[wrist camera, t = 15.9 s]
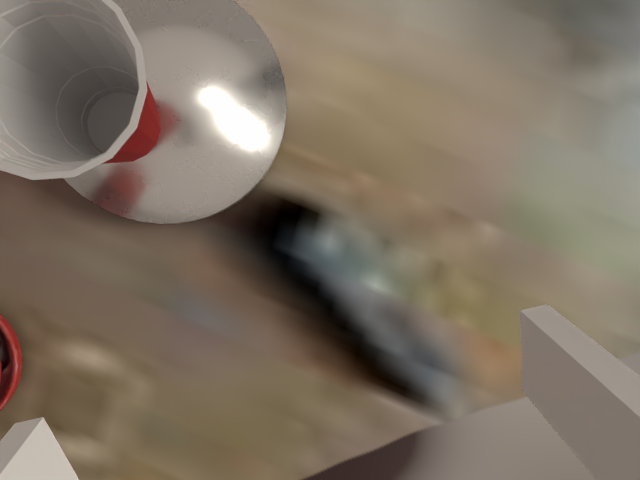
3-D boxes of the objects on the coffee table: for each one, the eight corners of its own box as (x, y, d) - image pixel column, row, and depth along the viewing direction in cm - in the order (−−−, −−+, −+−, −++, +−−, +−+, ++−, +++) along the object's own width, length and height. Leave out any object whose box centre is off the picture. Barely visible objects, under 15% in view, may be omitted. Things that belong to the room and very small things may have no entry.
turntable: (255, -32, 34) (254, -48, 32) (309, 194, 36) (311, 193, 34) (13, 8, 32) (-5, -6, 30) (79, 248, 33) (66, 249, 31)
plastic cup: (24, 153, 31) (-131, 108, 19) (92, 33, 31) (-19, -85, 19) (151, 220, 32) (81, 217, 20) (216, 105, 33) (184, 35, 21)
